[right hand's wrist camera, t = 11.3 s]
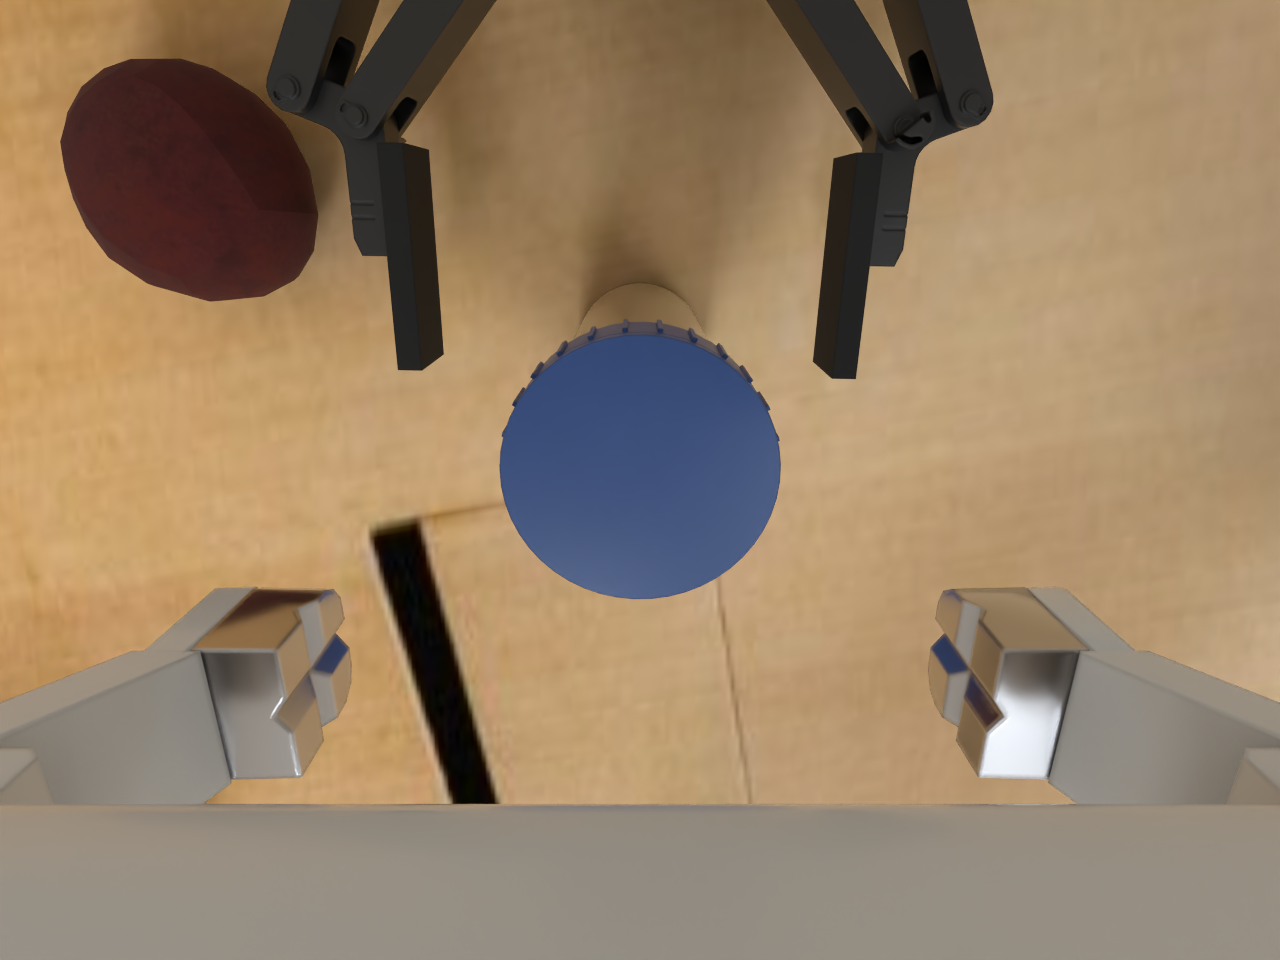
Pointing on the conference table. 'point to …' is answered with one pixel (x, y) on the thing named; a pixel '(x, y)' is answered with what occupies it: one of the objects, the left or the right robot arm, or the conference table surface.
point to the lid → (640, 461)
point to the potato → (189, 180)
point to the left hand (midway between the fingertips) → (627, 367)
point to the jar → (640, 308)
